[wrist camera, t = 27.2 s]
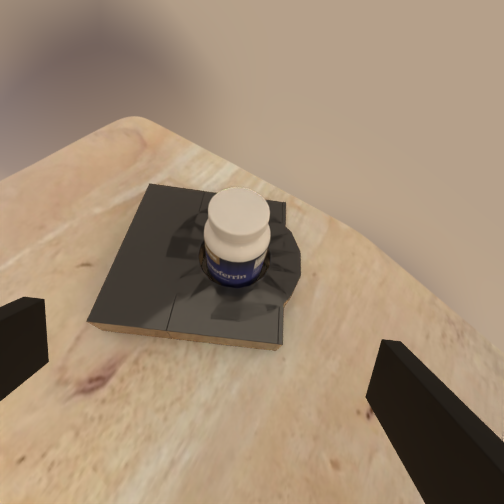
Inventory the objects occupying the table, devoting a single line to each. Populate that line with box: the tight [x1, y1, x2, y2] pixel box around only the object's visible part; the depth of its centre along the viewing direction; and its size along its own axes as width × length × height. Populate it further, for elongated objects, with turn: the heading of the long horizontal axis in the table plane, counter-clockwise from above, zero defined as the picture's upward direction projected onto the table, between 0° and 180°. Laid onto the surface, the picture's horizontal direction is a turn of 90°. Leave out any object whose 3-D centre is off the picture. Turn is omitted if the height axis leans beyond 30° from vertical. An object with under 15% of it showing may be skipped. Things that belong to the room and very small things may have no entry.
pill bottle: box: [204, 187, 270, 288], centre depth 22 cm, size 6×6×10 cm
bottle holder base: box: [87, 184, 301, 351], centre depth 25 cm, size 18×16×3 cm
